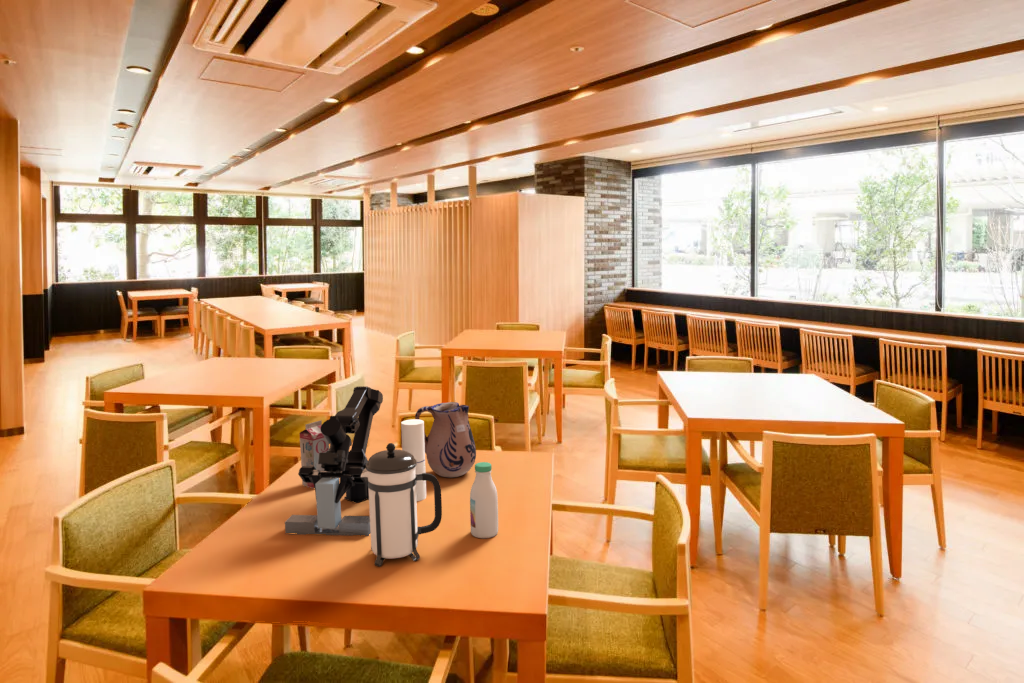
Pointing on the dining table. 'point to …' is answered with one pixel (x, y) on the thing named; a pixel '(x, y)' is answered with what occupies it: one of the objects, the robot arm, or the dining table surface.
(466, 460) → the ceramic pitcher
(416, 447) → the cylindrical container
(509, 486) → the dining table surface
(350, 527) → the rail
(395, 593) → the dining table surface
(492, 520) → the milk bottle
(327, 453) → the robot arm
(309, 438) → the juice carton
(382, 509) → the coffee press
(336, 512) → the peg
